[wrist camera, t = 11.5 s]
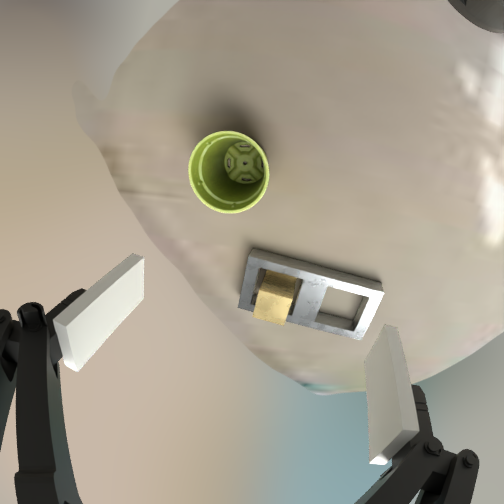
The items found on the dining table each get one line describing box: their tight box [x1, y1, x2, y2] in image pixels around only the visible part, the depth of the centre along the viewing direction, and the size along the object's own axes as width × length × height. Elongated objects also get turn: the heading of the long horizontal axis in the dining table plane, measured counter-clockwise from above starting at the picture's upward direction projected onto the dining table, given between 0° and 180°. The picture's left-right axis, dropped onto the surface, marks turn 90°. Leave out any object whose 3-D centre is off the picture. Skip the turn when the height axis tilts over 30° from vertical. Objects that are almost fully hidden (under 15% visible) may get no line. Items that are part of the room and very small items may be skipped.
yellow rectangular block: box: [252, 270, 297, 326], centre depth 45 cm, size 4×4×7 cm
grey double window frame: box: [238, 248, 384, 340], centre depth 46 cm, size 9×20×3 cm, turn 79°
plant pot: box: [188, 131, 269, 213], centre depth 38 cm, size 9×9×9 cm
